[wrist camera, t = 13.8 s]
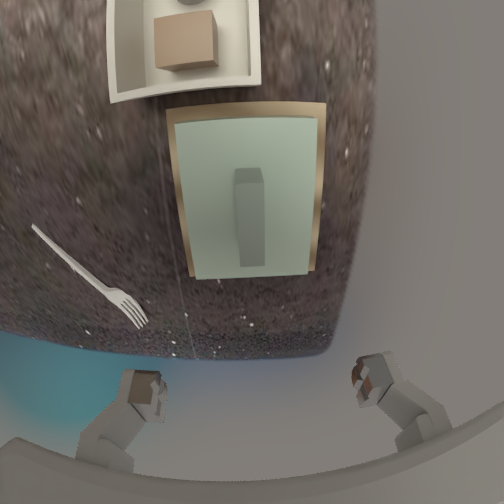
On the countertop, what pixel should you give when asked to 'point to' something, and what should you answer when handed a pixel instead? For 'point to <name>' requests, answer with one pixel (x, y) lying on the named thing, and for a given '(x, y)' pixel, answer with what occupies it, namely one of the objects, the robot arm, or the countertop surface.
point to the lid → (248, 193)
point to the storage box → (181, 46)
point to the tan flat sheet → (249, 110)
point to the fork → (99, 284)
